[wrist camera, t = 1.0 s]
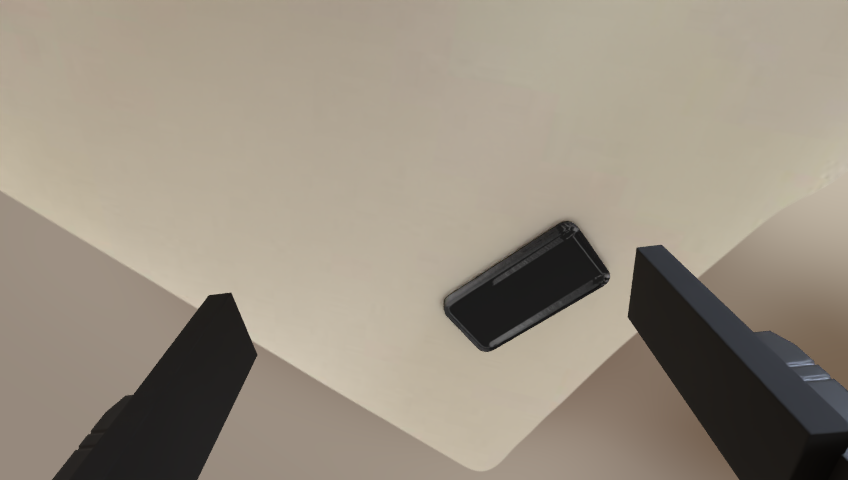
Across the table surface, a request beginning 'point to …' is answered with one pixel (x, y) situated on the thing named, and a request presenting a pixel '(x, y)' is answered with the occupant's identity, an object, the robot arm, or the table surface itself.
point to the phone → (527, 287)
